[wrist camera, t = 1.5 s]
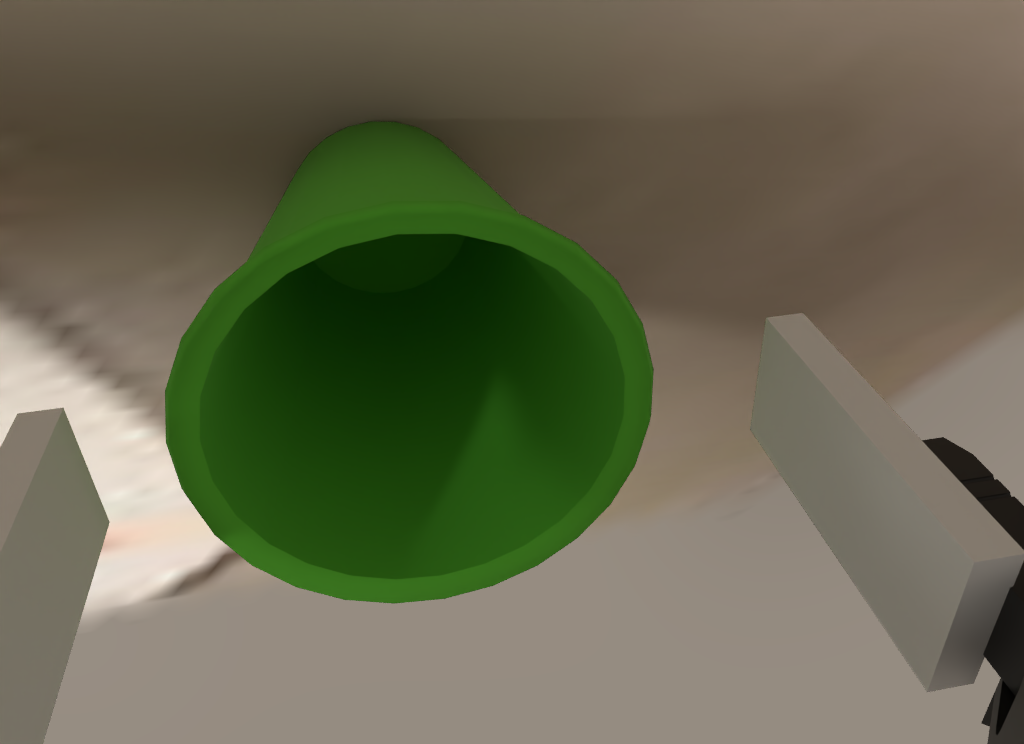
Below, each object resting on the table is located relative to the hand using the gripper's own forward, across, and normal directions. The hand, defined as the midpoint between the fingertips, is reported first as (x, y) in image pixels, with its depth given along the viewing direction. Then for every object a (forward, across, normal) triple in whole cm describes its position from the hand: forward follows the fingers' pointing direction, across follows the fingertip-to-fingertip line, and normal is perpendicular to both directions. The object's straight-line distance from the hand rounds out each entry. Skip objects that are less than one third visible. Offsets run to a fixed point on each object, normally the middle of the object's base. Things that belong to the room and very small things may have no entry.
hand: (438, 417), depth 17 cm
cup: (+11, 0, 0) cm, 11 cm away
